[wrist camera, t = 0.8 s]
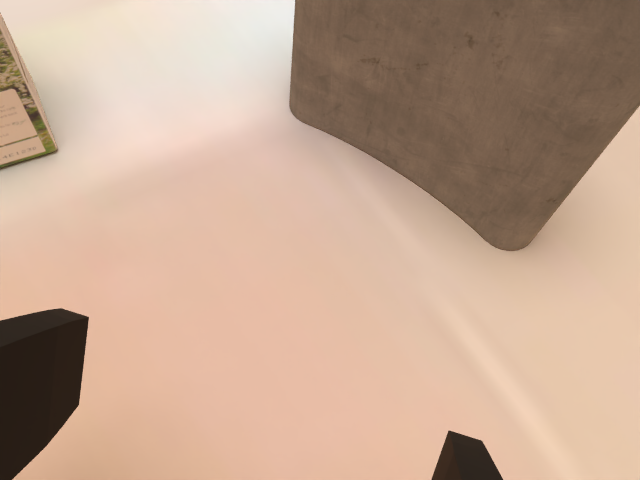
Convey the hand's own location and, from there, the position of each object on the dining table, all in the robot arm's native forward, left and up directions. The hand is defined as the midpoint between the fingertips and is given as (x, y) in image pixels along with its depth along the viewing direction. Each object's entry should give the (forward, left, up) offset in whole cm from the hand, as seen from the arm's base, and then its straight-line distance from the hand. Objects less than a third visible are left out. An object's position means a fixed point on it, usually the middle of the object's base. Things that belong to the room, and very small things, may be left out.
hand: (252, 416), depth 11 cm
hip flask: (+20, -2, -16) cm, 25 cm away
